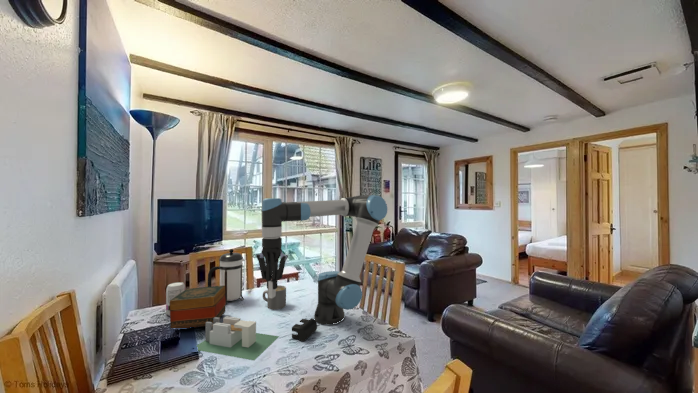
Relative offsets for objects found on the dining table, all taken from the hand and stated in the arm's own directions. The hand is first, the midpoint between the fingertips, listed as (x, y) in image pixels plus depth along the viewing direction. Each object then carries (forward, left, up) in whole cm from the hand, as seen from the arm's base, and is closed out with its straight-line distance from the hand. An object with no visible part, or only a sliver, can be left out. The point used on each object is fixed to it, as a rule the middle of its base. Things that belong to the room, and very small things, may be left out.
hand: (272, 296), depth 108 cm
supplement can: (+67, -18, -21) cm, 72 cm away
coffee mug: (+23, -41, -22) cm, 51 cm away
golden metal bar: (+20, 0, -15) cm, 25 cm away
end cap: (-8, -13, -22) cm, 26 cm away
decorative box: (+46, -12, -22) cm, 52 cm away
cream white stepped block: (+12, 0, -20) cm, 23 cm away
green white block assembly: (+16, 0, -21) cm, 26 cm away
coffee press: (+52, -40, -21) cm, 69 cm away
